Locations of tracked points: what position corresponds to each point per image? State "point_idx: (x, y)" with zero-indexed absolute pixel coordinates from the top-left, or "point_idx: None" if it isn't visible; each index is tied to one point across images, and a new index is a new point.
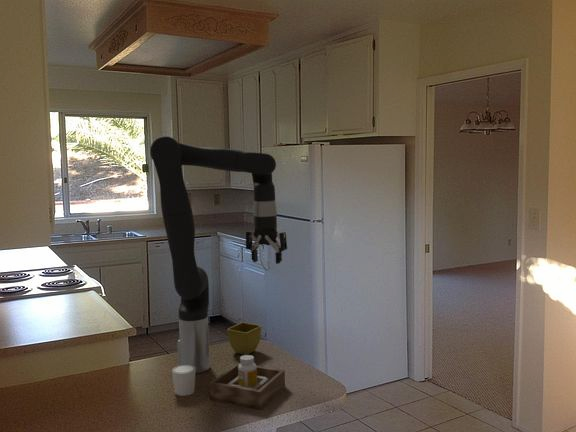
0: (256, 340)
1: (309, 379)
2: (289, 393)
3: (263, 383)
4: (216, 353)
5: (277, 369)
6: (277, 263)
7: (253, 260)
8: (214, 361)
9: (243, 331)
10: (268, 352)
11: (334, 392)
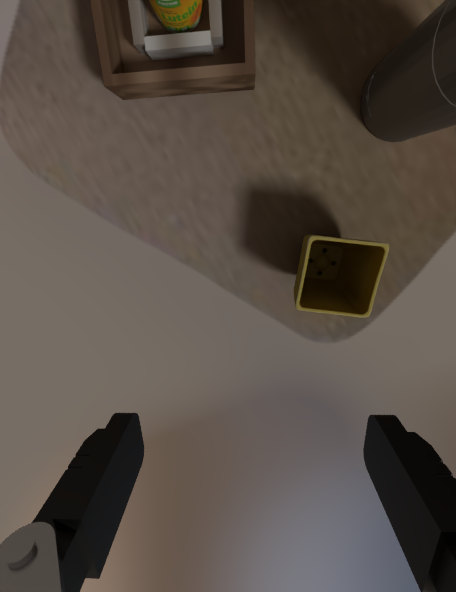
0: (296, 276)
1: (97, 168)
2: (91, 64)
3: (128, 1)
4: (390, 222)
5: (124, 82)
6: (120, 413)
7: (393, 422)
8: (370, 169)
9: (353, 302)
10: (265, 279)
11: (11, 123)
